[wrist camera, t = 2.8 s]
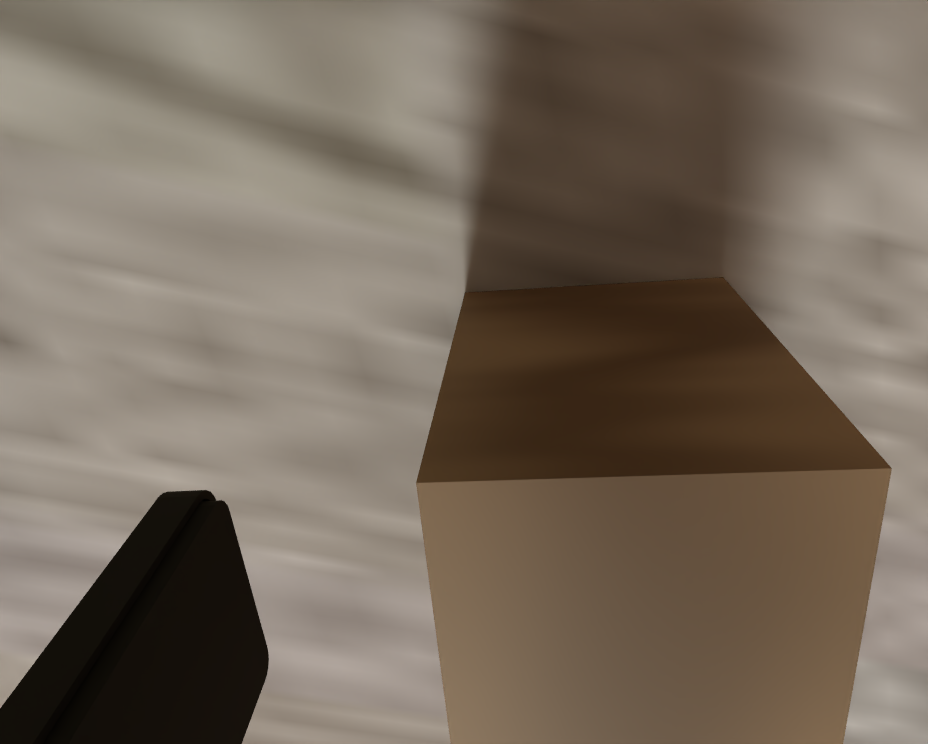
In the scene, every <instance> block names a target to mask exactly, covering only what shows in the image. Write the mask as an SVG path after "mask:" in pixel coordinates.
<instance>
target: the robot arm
mask: <svg viewBox="0 0 928 744" xmlns="http://www.w3.org/2000/svg"><path fill="white" fill-rule="evenodd" d="M268 661H269V657H268V649H267V645H266V641H265V637H264V634H263V630H262V627H261V623H260V619H259V616H258V612H257V608H256V605H255V601H254V598H253V594H252V590H251V587H250V583H249V580H248V576H247V572H246V569H245V565H244V561H243V558H242V554H241V551H240V547H239V543H238V540H237V536H236V533H235V529H234V525H233V522H232V518H231V515H230V511H229V508H228V506H227V504H226V503H225V502H224V501H222V500H221V501H216V499H215V497H214V495H213V494H212V493H211V492H210V491H207V490H198V491H176V492H166V493H163V494H162V495H160V496H159V497H158V499H157V500H156V501H155V503H154V504H153V505H152V507H151V508H150V509H149V511H148V512H147V513H146V515H145V516H144V517H143V519H142V520H141V521H140V523H139V524H138V525H137V527H136V528H135V529H134V531H133V532H132V533H131V535H130V536H129V537H128V539H127V540H126V541H125V543H124V544H123V545H122V547H121V548H120V549H119V551H118V552H117V553H116V555H115V556H114V557H113V559H112V560H111V561H110V563H109V564H108V565H107V567H106V568H105V569H104V571H103V572H102V573H101V575H100V576H99V577H98V579H97V580H96V581H95V583H94V584H93V585H92V587H91V588H90V589H89V591H88V592H87V593H86V595H85V596H84V597H83V599H82V600H81V601H80V603H79V604H78V605H77V607H76V608H75V609H74V611H73V612H72V613H71V615H70V616H69V617H68V619H67V620H66V621H65V623H64V624H63V625H62V627H61V628H60V629H59V631H58V632H57V633H56V635H55V636H54V637H53V639H52V640H51V641H50V643H49V644H48V645H47V647H46V648H45V649H44V651H43V652H42V653H41V655H40V656H39V657H38V659H37V660H36V661H35V663H34V664H33V665H32V667H31V668H30V669H29V671H28V672H27V673H26V675H25V676H24V678H23V679H22V680H21V682H20V683H19V684H18V686H17V687H16V688H15V690H14V691H13V692H12V694H11V695H10V696H9V698H8V699H7V700H6V702H5V703H4V704H3V706H2V707H1V708H0V744H242V741H243V738H244V736H245V733H246V730H247V728H248V725H249V722H250V720H251V717H252V714H253V712H254V709H255V706H256V703H257V701H258V698H259V695H260V693H261V690H262V687H263V685H264V682H265V679H266V676H267V671H268Z"/></svg>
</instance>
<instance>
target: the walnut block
mask: <svg viewBox="0 0 928 744" xmlns="http://www.w3.org/2000/svg"><path fill="white" fill-rule="evenodd" d="M891 469H892V468H891V467H890V466H889V465H888V464H887V462H886V461H885V460H884V459H883V458H882V457H881V456H880V455H879V453H878V452H877V451H876V450H875V449H874V448H873V447H872V445H871V444H870V443H869V442H868V441H867V440H866V439H865V438H864V436H863V435H862V434H861V433H860V432H859V431H858V430H857V428H856V427H855V426H854V425H853V424H852V423H851V422H850V421H849V419H848V418H847V417H846V416H845V415H844V414H843V413H842V411H841V410H840V409H839V408H838V407H837V406H836V405H835V404H834V402H833V401H832V400H831V399H830V398H829V397H828V396H827V394H826V393H825V392H824V391H823V390H822V389H821V388H820V387H819V385H818V384H817V383H816V382H815V381H814V380H813V379H812V377H811V376H810V375H809V374H808V373H807V372H806V371H805V370H804V368H803V367H802V366H801V365H800V364H799V363H798V362H797V360H796V359H795V358H794V357H793V356H792V355H791V354H790V353H789V351H788V350H787V349H786V348H785V347H784V346H783V345H782V343H781V342H780V341H779V340H778V339H777V338H776V337H775V336H774V334H773V333H772V332H771V331H770V330H769V329H768V328H767V327H766V325H765V324H764V323H763V322H762V321H761V320H760V319H759V317H758V316H757V315H756V314H755V313H754V312H753V311H752V310H751V308H750V307H749V306H748V305H747V304H746V303H745V302H744V300H743V299H742V298H741V297H740V296H739V295H738V294H737V293H736V291H735V290H734V289H733V288H732V287H731V286H730V285H729V283H728V282H727V281H726V280H725V279H724V278H723V277H719V278H702V279H686V280H669V281H652V282H635V283H618V284H601V285H584V286H567V287H550V288H533V289H516V290H499V291H482V292H466V293H465V295H464V299H463V303H462V307H461V310H460V314H459V318H458V322H457V326H456V330H455V334H454V338H453V342H452V346H451V349H450V353H449V357H448V361H447V365H446V369H445V373H444V377H443V381H442V385H441V388H440V392H439V396H438V400H437V404H436V408H435V412H434V416H433V420H432V424H431V427H430V431H429V435H428V439H427V443H426V447H425V451H424V455H423V459H422V463H421V466H420V470H419V474H418V478H417V482H416V485H417V492H418V500H419V507H420V515H421V523H422V530H423V538H424V545H425V553H426V560H427V568H428V575H429V583H430V590H431V598H432V605H433V613H434V620H435V628H436V636H437V643H438V651H439V658H440V666H441V673H442V681H443V688H444V696H445V703H446V711H447V718H448V726H449V733H450V741H451V744H843V740H844V735H845V729H846V724H847V718H848V712H849V707H850V701H851V695H852V690H853V684H854V678H855V673H856V667H857V661H858V656H859V650H860V645H861V639H862V633H863V628H864V622H865V616H866V611H867V605H868V599H869V594H870V588H871V582H872V577H873V571H874V565H875V560H876V554H877V549H878V543H879V537H880V532H881V526H882V520H883V515H884V509H885V503H886V498H887V492H888V486H889V481H890V475H891Z"/></svg>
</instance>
